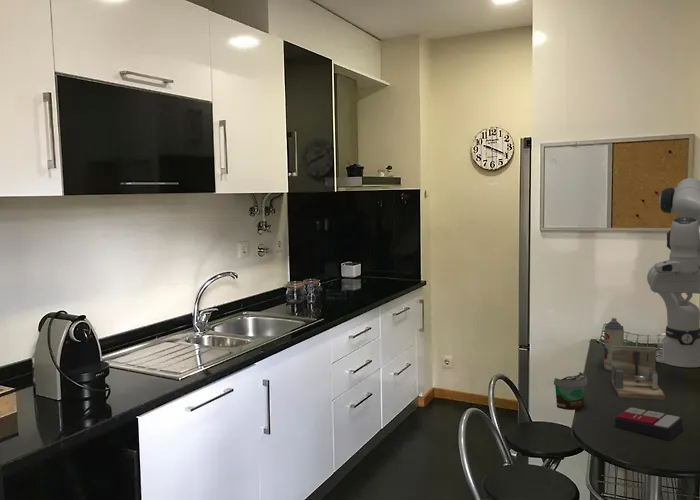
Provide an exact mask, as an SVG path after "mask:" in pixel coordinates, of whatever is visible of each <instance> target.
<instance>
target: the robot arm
mask: <svg viewBox="0 0 700 500" xmlns="http://www.w3.org/2000/svg"><path fill="white" fill-rule="evenodd" d="M658 206H659V208H660V210H661V211H662V213H666V214H675V215H676V216H677V217H676V218H674V219H673V220H672V222H671V225H670V230H668V231H667V233H666V248H668V249H669V250H670V252H669V259H666V260H663V261H659V262H657V263H654V265H653V266H651V268H649V270H648V272H647V277H646V278H647V279H646V281H647V284H648V285H649V289H650V290H651V292H653V293H654V294H656V293H657V294H658V295H659V296H660V297H661V299H662V300H663V301H664V304H665V308H666V315H667V319H666V320H667V321H666V322H667V325H666V327H665V336H664V337H663V339H662V340H661V342H657V348H658V349H657V350H656V351H655V362H658V363H660V364H666V365H668V366H673V367H674V366H675V367H680V368H699V367H700V309H699V307H698V306H697V305H696V304H694V303H693V302H691V299H692V298H693V295H694V294H697V295H700V180H699V179H698V178H693V177H688V178H687V177H686V178H684V179H683V180H681V181H680V182H679V183H677V186H675V187H672V186H671V187H667V188H665V189H663V190H662V191H661V193H660V194H659V197H658ZM682 294H685V295H686V298H684V296H683V295H682ZM658 354H659V355H660V356H657V357H656V355H658Z"/></svg>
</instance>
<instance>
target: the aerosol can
mask: <svg viewBox="0 0 700 500" xmlns="http://www.w3.org/2000/svg"><path fill="white" fill-rule="evenodd" d="M624 331H625V329H624V326H623V325H622V324H621V323H619V321H618V320H617V318H616V317H611V320H610V321H609V322H608V323H607V324H605V325H604V332H603V334H604V336H603V337H604V338H603V339H604V341H603V342H604V343H603V344H604V345H603V346H604V347H603V353H604V354H603V355H604V356H603V363H604V364H603V369H604V370H605V371H607V372H611V373H612V346H625V345H624V342H625V340H624V338H625V337H624V336H625V334H624V333H625V332H624Z"/></svg>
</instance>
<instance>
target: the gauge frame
mask: <svg viewBox="0 0 700 500" xmlns="http://www.w3.org/2000/svg"><path fill="white" fill-rule="evenodd" d="M634 352H640V353H639V355H638V376H649V369H654V370H655V371H656V347H655V346H626V345H624V346H612V372H611V383H612V386H613V388H614V390H615V392H616V395H617V396H618V398H622V399H640V400H641V399H642V400H643V399H645V400H660V401H665V400H666V395H665V393H664V391H662V389H661V388H660V386H659V385H658V384H657V389H652V387H651V386H650V384H649V381H641V380H639V381H637V380H634V375H635V358H636V355H634Z"/></svg>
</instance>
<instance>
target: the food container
mask: <svg viewBox="0 0 700 500" xmlns="http://www.w3.org/2000/svg"><path fill="white" fill-rule="evenodd" d="M553 385H554V386H555V387H554V388H555V399H556V401H555V402H556V408H557V409H561V410H564V411H578V410H582V409H583V407H584V401H585V391H586V385H588V379H587V376H586V374H584V373H583V372H581V371H579V372H578V374H577V375H572V376H566V377H563V378H556V377H554V380H553Z"/></svg>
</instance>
